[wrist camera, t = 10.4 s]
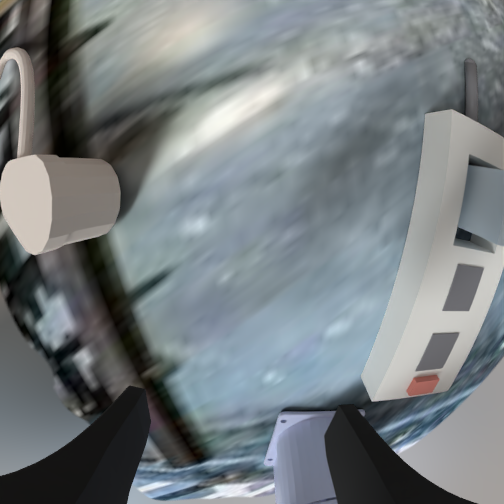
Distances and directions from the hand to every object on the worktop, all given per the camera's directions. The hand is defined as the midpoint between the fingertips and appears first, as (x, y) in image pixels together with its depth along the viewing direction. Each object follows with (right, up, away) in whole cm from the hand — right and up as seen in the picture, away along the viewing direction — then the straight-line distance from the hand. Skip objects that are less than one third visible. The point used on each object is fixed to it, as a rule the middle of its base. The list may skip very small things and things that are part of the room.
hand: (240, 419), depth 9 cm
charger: (+15, +10, +7) cm, 19 cm away
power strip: (+15, +8, +7) cm, 18 cm away
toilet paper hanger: (-15, +12, +7) cm, 20 cm away
